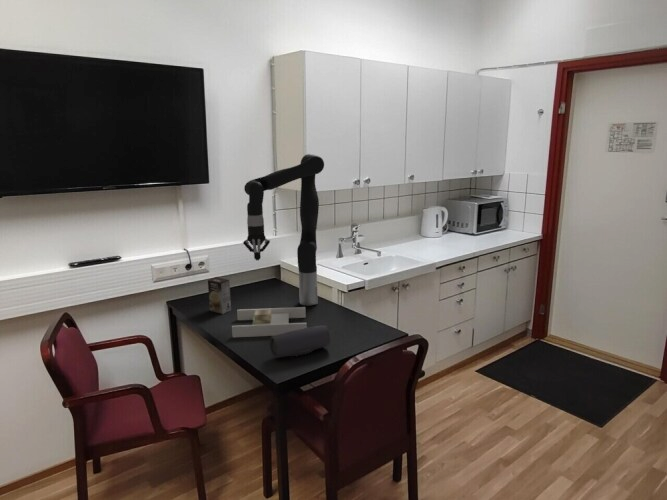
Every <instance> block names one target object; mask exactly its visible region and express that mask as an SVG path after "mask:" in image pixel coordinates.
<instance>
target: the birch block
mask: <svg viewBox="0 0 667 500" xmlns="http://www.w3.org/2000/svg"><path fill="white" fill-rule="evenodd" d="M271 318H272V316H271V310H256V311H255V314H254V320H255V323H271Z"/></svg>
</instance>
